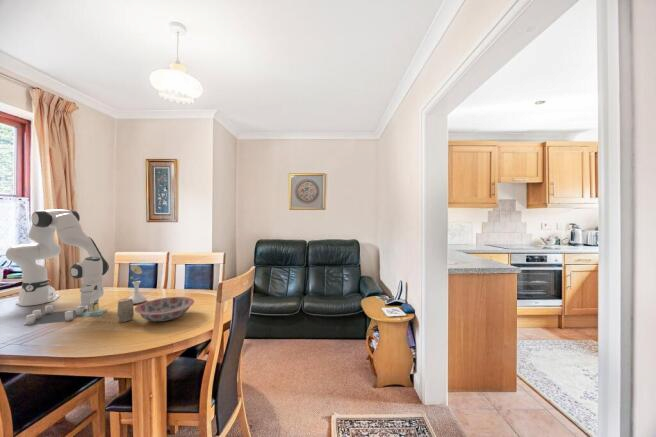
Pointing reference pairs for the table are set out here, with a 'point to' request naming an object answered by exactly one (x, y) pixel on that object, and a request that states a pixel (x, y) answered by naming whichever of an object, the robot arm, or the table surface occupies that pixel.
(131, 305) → the carving
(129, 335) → the table surface
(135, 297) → the flower in vase
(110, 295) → the table surface
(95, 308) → the brass nut
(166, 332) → the table surface
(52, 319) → the spacer mat
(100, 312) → the teal tile
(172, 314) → the ceramic bowl
